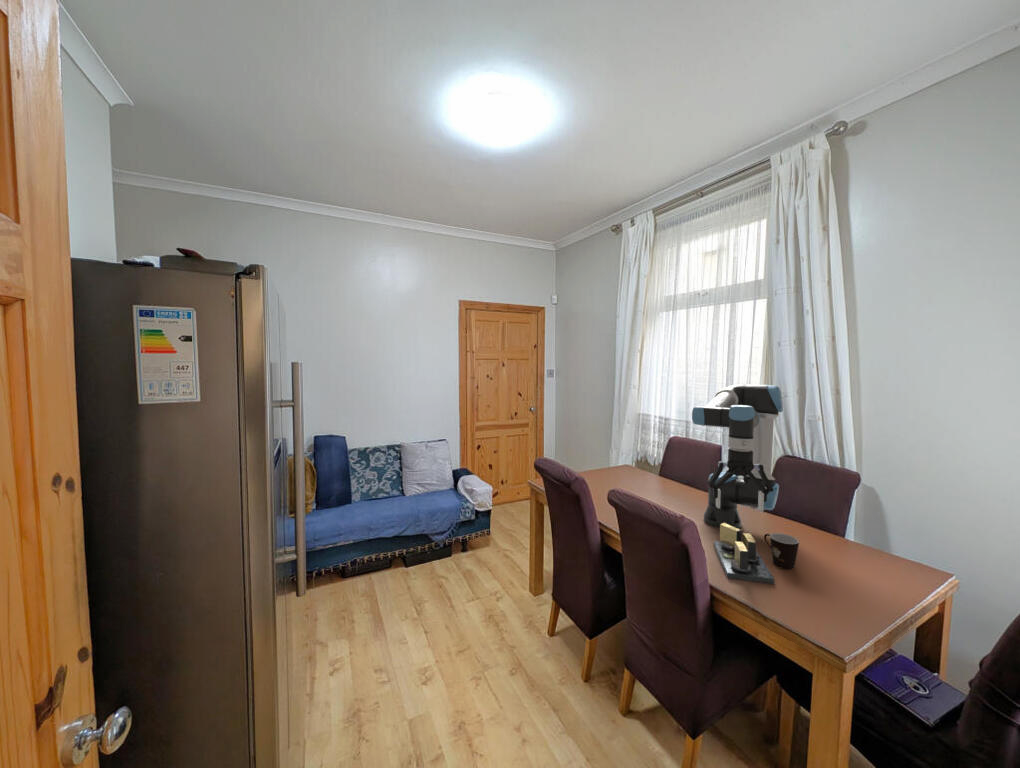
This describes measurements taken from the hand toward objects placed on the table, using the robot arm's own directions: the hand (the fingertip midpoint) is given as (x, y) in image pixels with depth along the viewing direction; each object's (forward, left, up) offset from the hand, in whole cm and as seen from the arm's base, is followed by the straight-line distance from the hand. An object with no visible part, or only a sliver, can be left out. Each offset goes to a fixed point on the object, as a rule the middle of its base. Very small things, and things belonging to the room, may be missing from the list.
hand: (739, 508), depth 135 cm
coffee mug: (-11, +17, -23) cm, 30 cm away
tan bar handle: (+2, 0, -21) cm, 21 cm away
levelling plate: (-6, +2, -23) cm, 24 cm away
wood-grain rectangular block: (-6, +5, -21) cm, 22 cm away
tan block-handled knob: (-14, +1, -21) cm, 25 cm away
